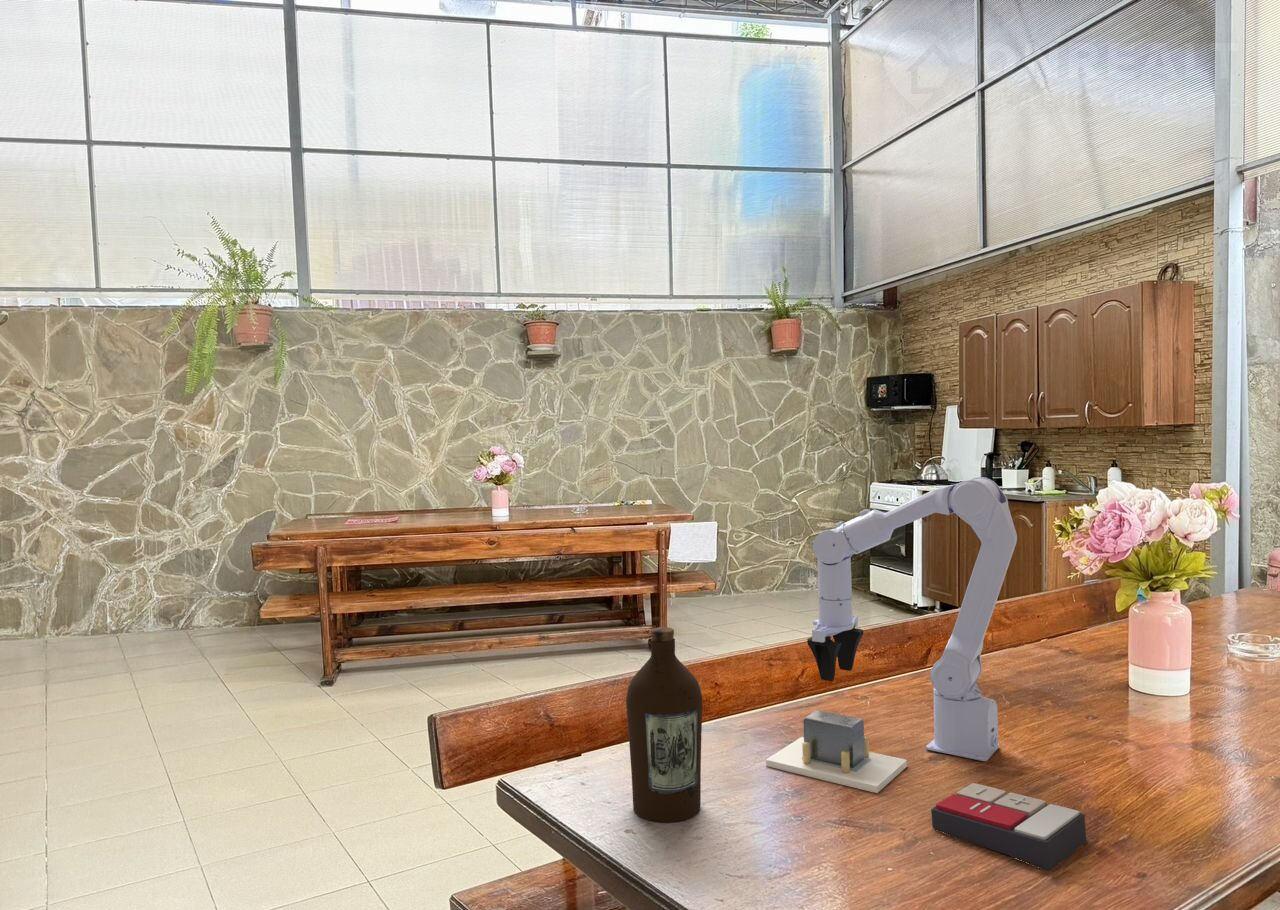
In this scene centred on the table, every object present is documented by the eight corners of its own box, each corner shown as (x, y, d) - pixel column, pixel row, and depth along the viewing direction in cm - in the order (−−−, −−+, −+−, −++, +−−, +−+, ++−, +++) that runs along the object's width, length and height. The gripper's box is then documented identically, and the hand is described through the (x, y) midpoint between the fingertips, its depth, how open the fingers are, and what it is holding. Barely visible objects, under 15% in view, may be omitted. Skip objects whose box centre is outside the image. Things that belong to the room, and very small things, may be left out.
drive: (864, 758, 130) (863, 718, 130) (853, 768, 126) (852, 727, 126) (816, 748, 135) (815, 709, 135) (804, 757, 131) (803, 717, 131)
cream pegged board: (907, 766, 130) (906, 740, 129) (877, 793, 120) (876, 765, 120) (801, 742, 141) (800, 719, 140) (766, 765, 131) (765, 740, 131)
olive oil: (621, 797, 121) (617, 624, 121) (692, 788, 123) (688, 619, 123) (638, 829, 111) (633, 641, 110) (715, 819, 113) (710, 634, 113)
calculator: (971, 779, 116) (1085, 807, 105) (973, 810, 116) (1088, 842, 105) (929, 802, 109) (1046, 836, 98) (931, 836, 109) (1049, 873, 98)
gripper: (831, 589, 155) (833, 662, 155) (795, 602, 144) (796, 681, 144) (868, 592, 151) (869, 667, 151) (833, 606, 139) (835, 687, 139)
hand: (836, 674), depth 147 cm, fingers open, 7 cm apart
